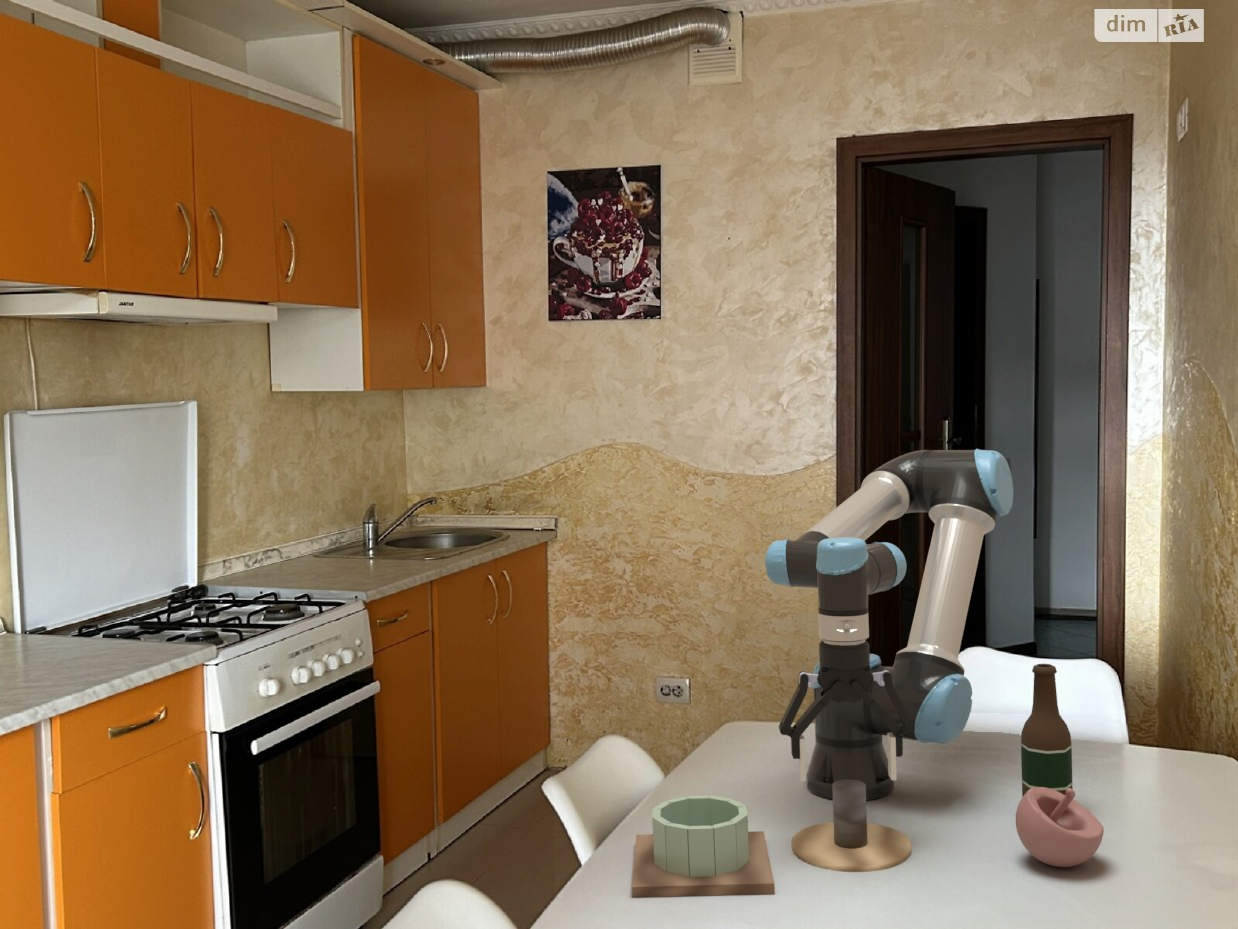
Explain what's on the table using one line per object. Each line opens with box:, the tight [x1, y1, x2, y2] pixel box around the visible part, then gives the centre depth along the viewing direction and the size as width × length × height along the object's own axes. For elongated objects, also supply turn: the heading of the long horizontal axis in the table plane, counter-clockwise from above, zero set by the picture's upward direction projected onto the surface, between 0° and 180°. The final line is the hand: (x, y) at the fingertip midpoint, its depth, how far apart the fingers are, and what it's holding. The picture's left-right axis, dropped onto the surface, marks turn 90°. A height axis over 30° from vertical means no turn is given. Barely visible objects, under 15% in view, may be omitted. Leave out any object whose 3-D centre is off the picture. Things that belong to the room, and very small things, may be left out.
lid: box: [791, 780, 912, 873], centre depth 184 cm, size 18×18×10 cm
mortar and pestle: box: [1015, 787, 1105, 868], centre depth 175 cm, size 12×12×12 cm
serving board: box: [631, 830, 776, 898], centre depth 180 cm, size 20×20×2 cm
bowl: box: [651, 794, 749, 877], centre depth 179 cm, size 14×14×7 cm
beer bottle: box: [1020, 663, 1074, 798], centre depth 196 cm, size 8×8×24 cm
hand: (847, 778), depth 184 cm, fingers open, 13 cm apart
